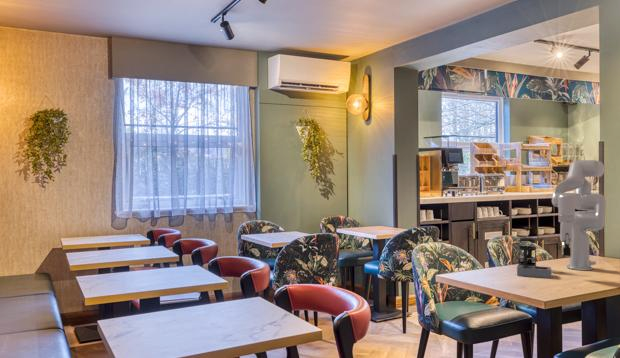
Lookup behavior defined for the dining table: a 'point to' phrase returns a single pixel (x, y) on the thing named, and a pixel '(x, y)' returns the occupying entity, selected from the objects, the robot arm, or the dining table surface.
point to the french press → (527, 251)
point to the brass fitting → (562, 250)
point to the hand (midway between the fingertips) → (566, 254)
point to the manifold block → (534, 271)
